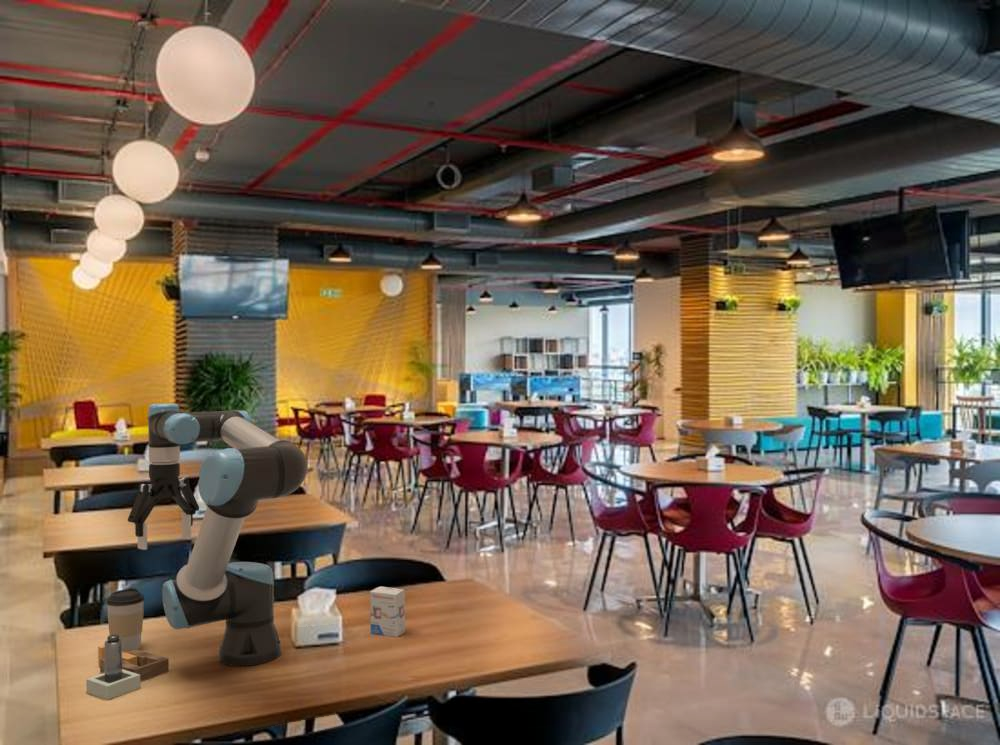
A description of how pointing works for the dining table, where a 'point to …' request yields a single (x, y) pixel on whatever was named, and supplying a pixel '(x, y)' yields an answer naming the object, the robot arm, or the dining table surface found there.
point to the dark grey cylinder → (113, 659)
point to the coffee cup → (126, 617)
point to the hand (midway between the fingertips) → (165, 543)
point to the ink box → (387, 611)
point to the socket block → (143, 664)
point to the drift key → (125, 656)
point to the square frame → (113, 685)
